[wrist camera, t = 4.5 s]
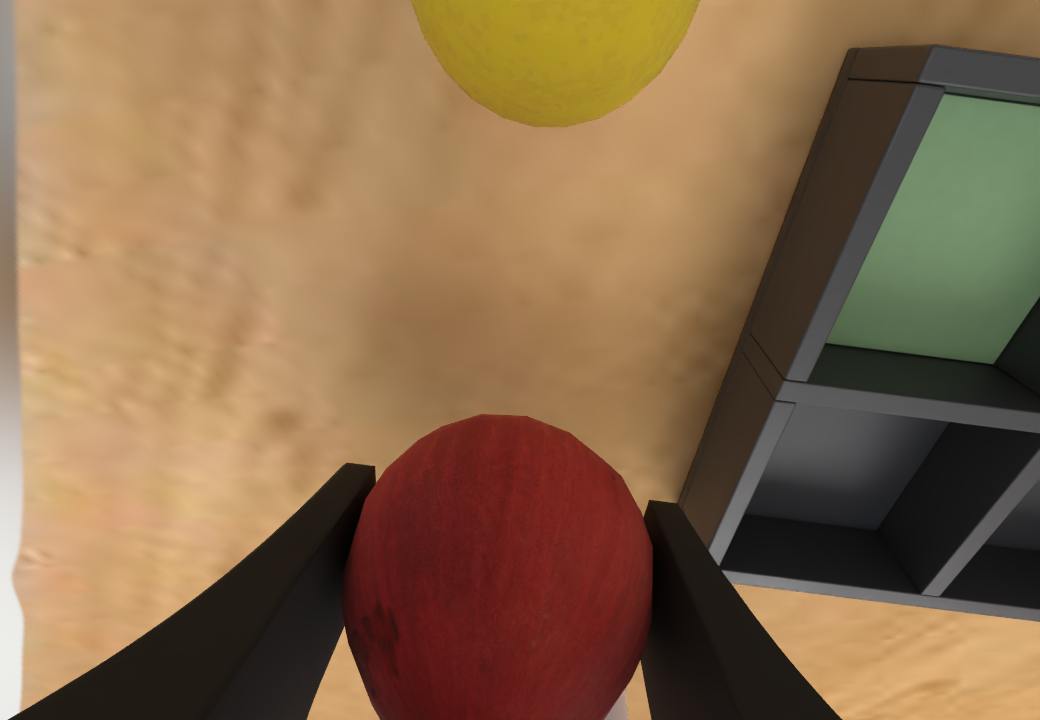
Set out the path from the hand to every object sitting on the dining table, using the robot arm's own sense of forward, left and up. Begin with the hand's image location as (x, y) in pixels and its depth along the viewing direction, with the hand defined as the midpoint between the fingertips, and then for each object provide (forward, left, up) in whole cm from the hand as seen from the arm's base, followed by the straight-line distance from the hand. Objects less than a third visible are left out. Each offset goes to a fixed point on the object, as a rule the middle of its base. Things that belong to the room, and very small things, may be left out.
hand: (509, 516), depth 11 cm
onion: (0, 0, -3) cm, 3 cm away
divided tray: (+1, -16, -8) cm, 18 cm away
